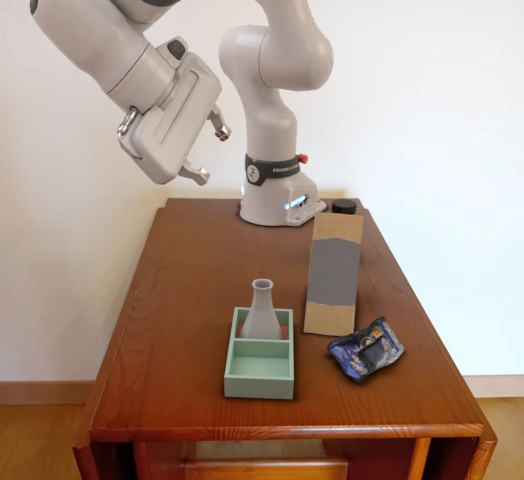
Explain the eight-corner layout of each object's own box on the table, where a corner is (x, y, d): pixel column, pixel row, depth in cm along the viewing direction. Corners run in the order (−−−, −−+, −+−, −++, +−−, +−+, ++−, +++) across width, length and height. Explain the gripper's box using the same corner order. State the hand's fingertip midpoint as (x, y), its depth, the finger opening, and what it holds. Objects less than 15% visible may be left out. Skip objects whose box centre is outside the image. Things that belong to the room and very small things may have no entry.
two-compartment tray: (234, 324, 90) (234, 307, 88) (291, 327, 90) (292, 309, 88) (224, 396, 75) (224, 377, 73) (292, 399, 75) (293, 380, 73)
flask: (286, 351, 83) (289, 295, 77) (239, 352, 83) (239, 296, 77) (281, 325, 89) (284, 271, 83) (237, 326, 89) (237, 272, 83)
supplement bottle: (328, 268, 108) (335, 210, 101) (315, 254, 113) (320, 198, 106) (359, 264, 110) (368, 207, 103) (345, 250, 115) (352, 195, 108)
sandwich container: (301, 333, 89) (308, 249, 80) (308, 288, 101) (314, 211, 92) (354, 337, 88) (366, 253, 79) (354, 291, 100) (364, 214, 91)
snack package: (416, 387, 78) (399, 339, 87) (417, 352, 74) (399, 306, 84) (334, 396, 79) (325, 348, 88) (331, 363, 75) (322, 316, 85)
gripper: (124, 127, 66) (205, 202, 73) (185, 28, 74) (252, 105, 82) (99, 147, 70) (178, 216, 78) (160, 52, 79) (226, 122, 87)
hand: (217, 158), depth 80 cm, fingers open, 8 cm apart
